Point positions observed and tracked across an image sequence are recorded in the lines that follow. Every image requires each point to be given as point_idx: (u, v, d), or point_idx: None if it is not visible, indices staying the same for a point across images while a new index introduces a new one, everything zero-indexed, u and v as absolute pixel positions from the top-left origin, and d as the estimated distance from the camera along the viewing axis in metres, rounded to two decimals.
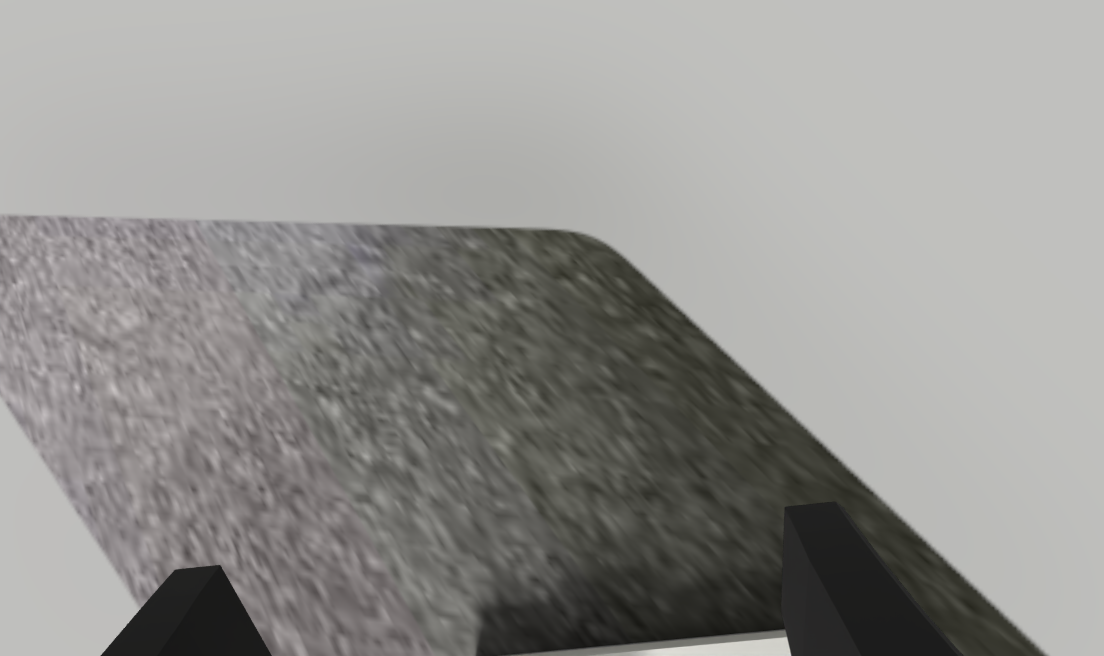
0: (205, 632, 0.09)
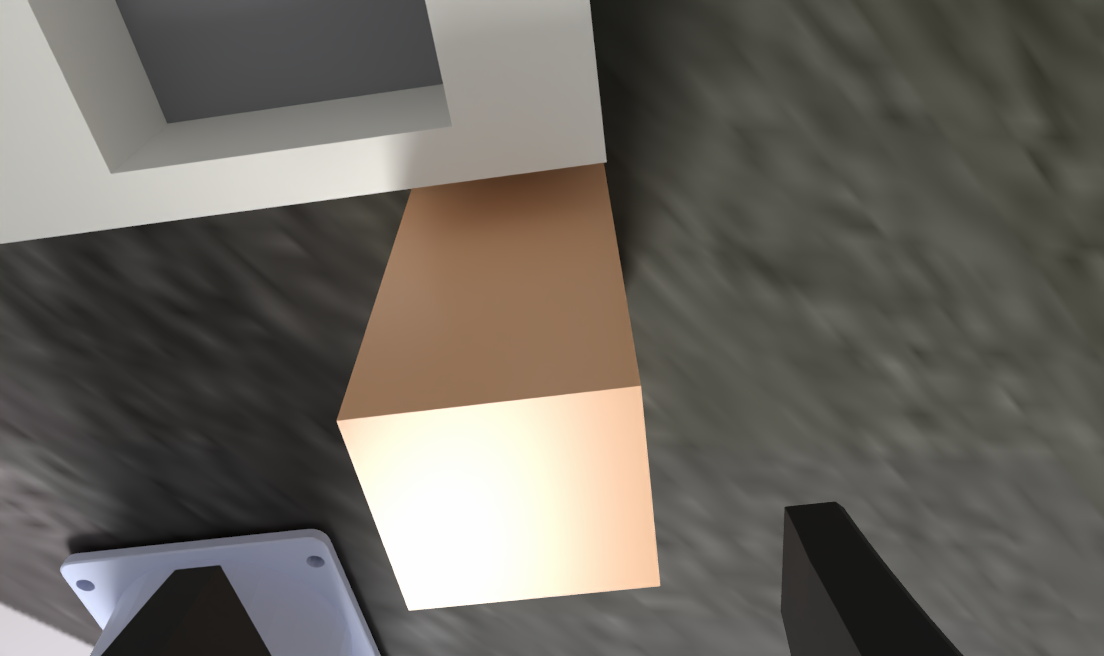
0: (205, 632, 0.09)
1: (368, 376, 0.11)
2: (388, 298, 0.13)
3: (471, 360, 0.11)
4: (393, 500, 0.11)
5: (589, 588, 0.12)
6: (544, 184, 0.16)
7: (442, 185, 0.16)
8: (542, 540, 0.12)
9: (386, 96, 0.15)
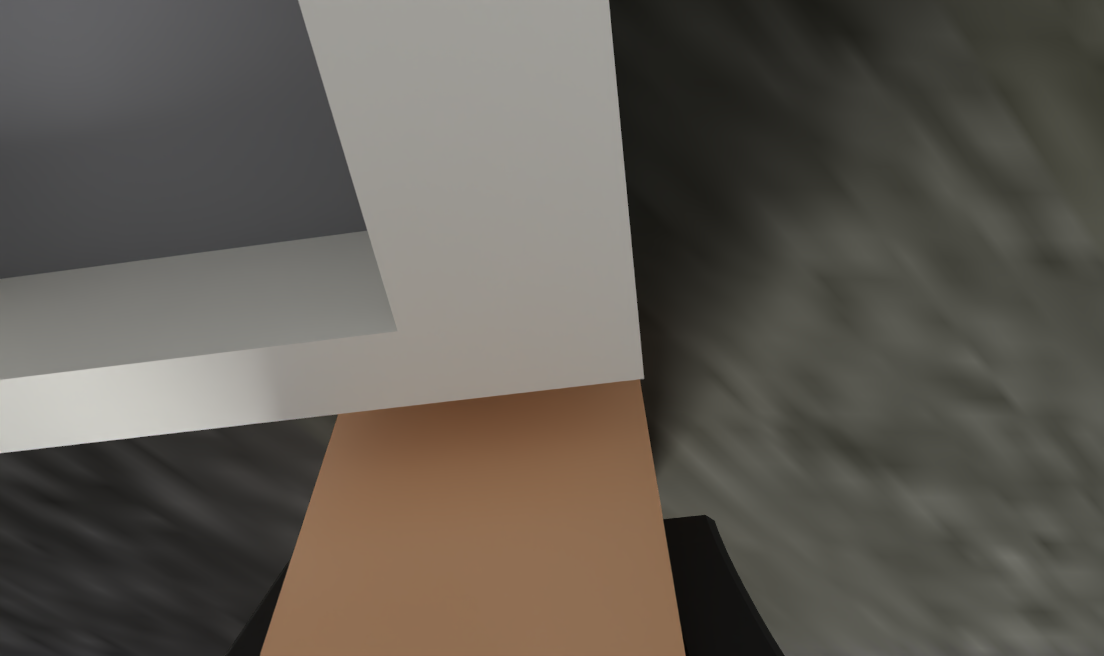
0: None
1: None
2: (289, 625, 0.08)
3: None
4: None
5: None
6: None
7: None
8: None
9: (309, 249, 0.10)
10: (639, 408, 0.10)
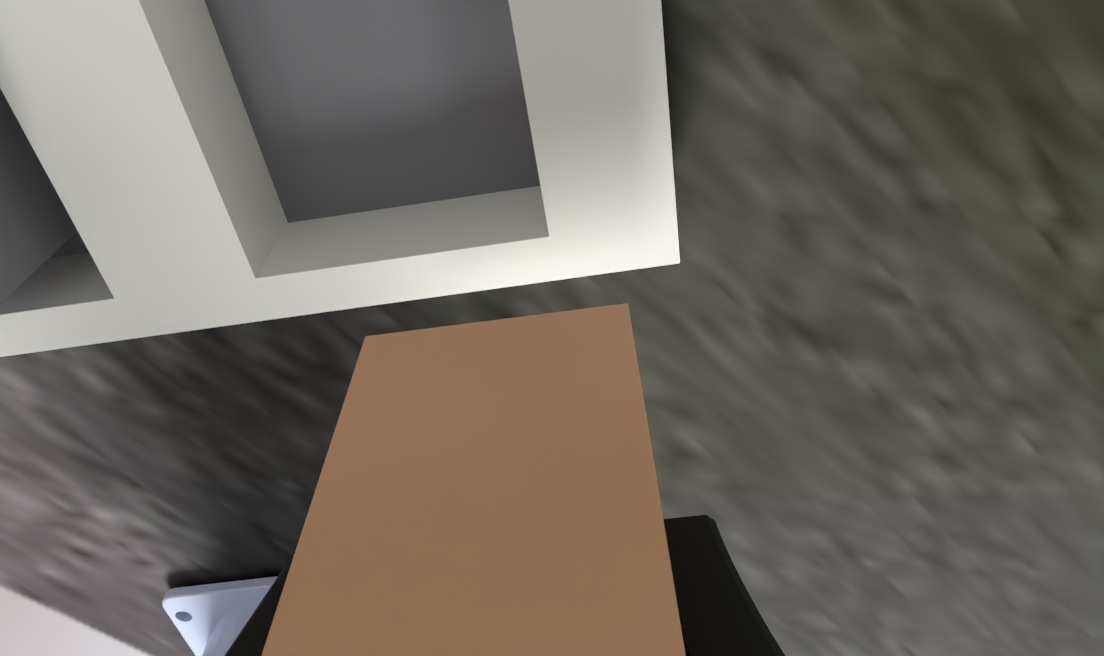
0: None
1: None
2: (292, 621, 0.08)
3: None
4: None
5: None
6: (547, 367, 0.11)
7: (400, 359, 0.11)
8: None
9: (482, 200, 0.18)
10: (639, 405, 0.10)
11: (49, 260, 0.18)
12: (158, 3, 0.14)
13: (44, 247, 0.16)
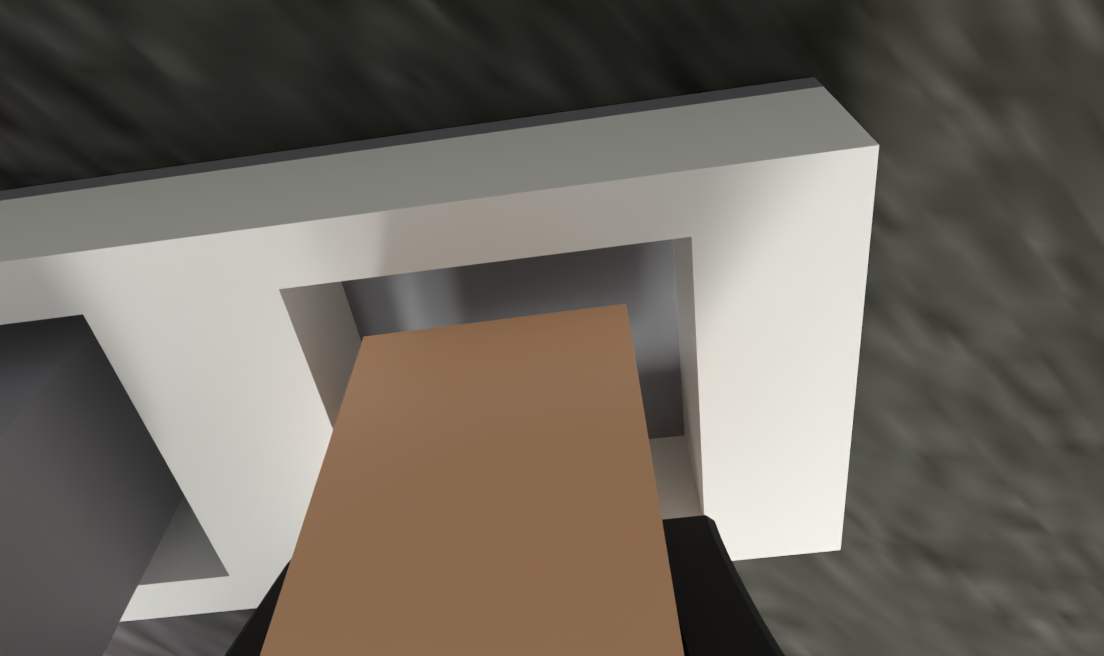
0: None
1: None
2: (290, 622, 0.08)
3: None
4: None
5: None
6: (545, 369, 0.11)
7: (398, 359, 0.11)
8: None
9: None
10: (637, 405, 0.10)
11: None
12: (306, 312, 0.13)
13: (157, 527, 0.15)
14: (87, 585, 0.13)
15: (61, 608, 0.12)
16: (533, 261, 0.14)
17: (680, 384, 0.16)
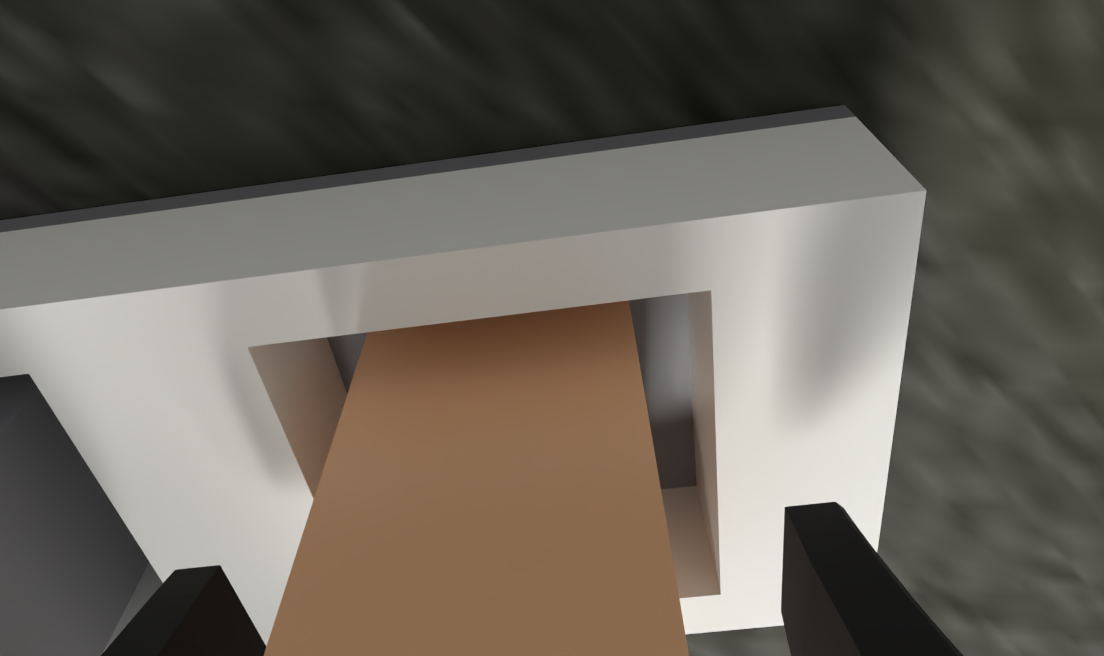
0: (205, 632, 0.09)
1: None
2: (318, 541, 0.09)
3: None
4: None
5: None
6: (547, 327, 0.12)
7: None
8: None
9: None
10: (634, 358, 0.11)
11: None
12: (281, 367, 0.11)
13: (122, 593, 0.14)
14: None
15: None
16: None
17: (693, 433, 0.15)
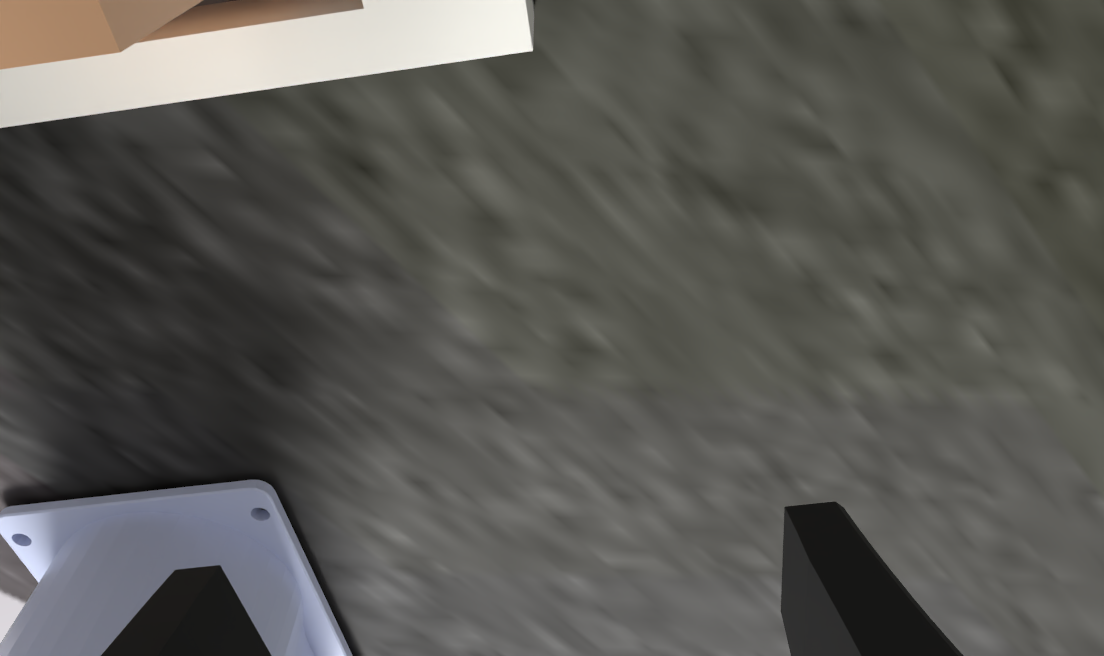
0: (205, 632, 0.09)
1: None
2: None
3: None
4: None
5: (1, 57, 0.07)
6: None
7: None
8: None
9: None
10: None
11: None
12: None
13: None
14: None
15: None
16: None
17: None
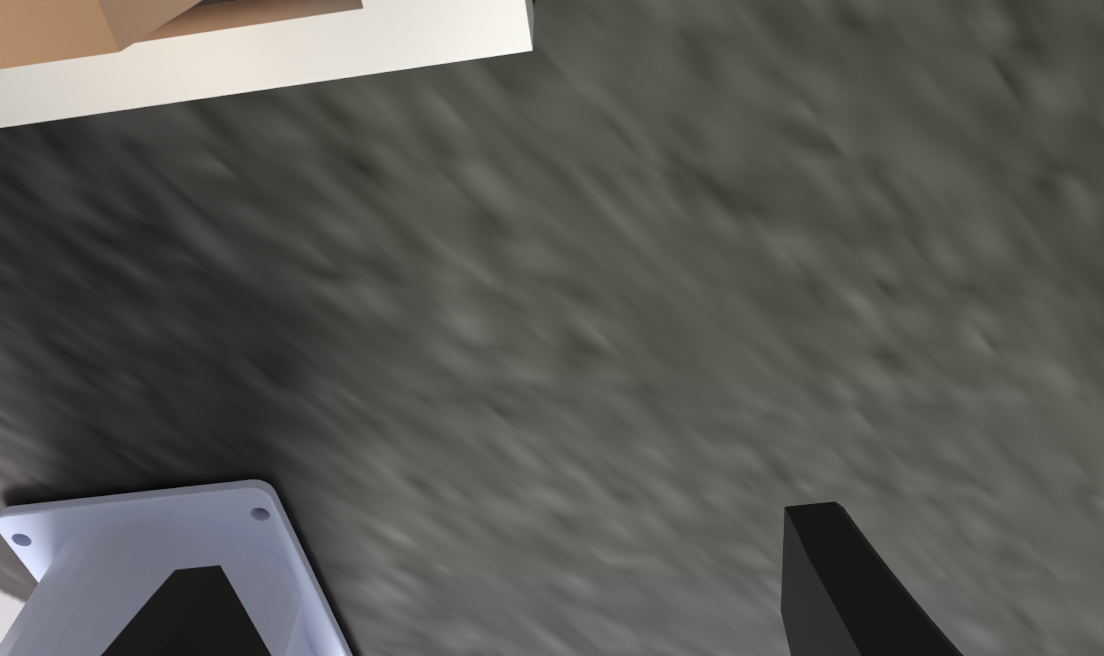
0: (205, 632, 0.09)
1: None
2: None
3: None
4: None
5: (1, 57, 0.07)
6: None
7: None
8: None
9: None
10: None
11: None
12: None
13: None
14: None
15: None
16: None
17: None
